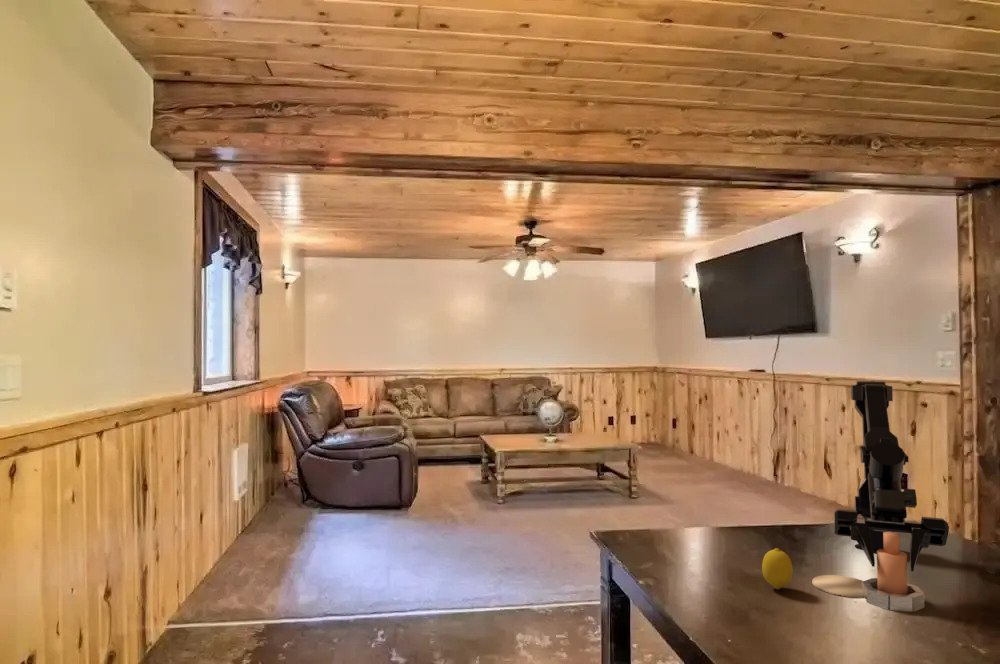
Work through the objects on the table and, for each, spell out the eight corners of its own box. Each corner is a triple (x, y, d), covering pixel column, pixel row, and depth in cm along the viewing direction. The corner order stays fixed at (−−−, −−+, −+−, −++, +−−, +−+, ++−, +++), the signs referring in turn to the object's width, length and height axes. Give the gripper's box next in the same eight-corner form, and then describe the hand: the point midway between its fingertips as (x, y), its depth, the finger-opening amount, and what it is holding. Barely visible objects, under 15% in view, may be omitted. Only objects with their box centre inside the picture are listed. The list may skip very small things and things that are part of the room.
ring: (853, 597, 124) (853, 584, 124) (881, 588, 129) (881, 575, 129) (905, 615, 116) (904, 601, 116) (932, 604, 121) (932, 590, 121)
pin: (872, 599, 123) (871, 532, 123) (886, 594, 126) (885, 528, 126) (898, 608, 119) (897, 539, 119) (912, 602, 121) (911, 535, 122)
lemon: (791, 585, 130) (790, 545, 130) (794, 596, 125) (793, 554, 125) (761, 582, 132) (761, 542, 132) (763, 592, 127) (762, 551, 127)
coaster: (800, 583, 131) (800, 581, 131) (833, 573, 137) (833, 571, 137) (853, 601, 122) (853, 599, 122) (886, 590, 128) (886, 588, 128)
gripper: (833, 468, 130) (836, 539, 120) (945, 475, 122) (959, 552, 112) (833, 499, 137) (835, 569, 127) (939, 508, 129) (951, 583, 119)
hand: (892, 567), depth 121 cm, fingers open, 6 cm apart
